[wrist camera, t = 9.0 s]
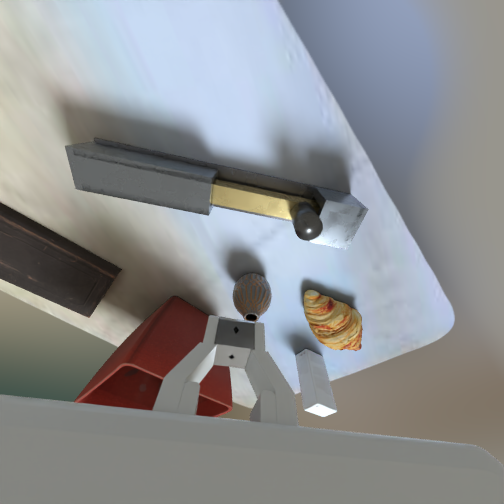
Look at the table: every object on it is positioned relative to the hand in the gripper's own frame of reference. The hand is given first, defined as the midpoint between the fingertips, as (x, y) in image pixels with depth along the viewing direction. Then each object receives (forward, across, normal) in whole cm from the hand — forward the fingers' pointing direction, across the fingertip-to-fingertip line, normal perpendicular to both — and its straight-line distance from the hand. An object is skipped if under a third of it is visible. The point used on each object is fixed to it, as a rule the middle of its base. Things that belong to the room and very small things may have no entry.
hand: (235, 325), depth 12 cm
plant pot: (+24, +9, +32) cm, 41 cm away
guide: (+24, +3, 0) cm, 24 cm away
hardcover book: (+24, +35, +21) cm, 47 cm away
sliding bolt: (+22, -1, 0) cm, 22 cm away
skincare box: (+23, -23, +38) cm, 50 cm away
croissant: (+24, -23, +22) cm, 40 cm away
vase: (+24, -4, +17) cm, 29 cm away
